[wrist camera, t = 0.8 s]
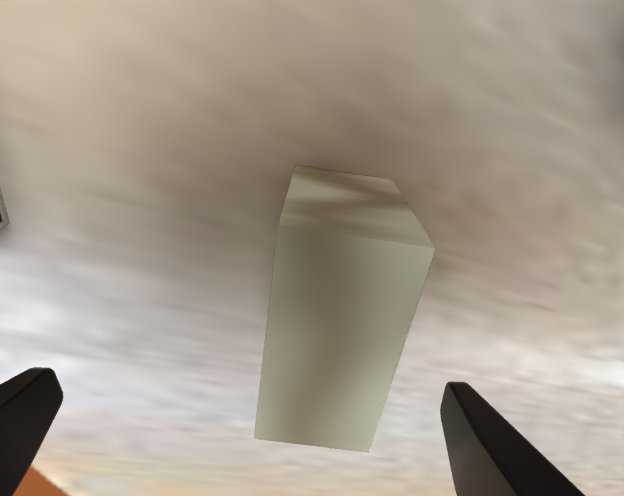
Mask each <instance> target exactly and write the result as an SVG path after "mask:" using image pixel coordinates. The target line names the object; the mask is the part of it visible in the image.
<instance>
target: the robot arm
mask: <svg viewBox="0 0 624 496" xmlns="http://www.w3.org/2000/svg"><path fill="white" fill-rule="evenodd" d="M62 401H63V391H62V389H61V386H60V384H59V381H58V379H57V377H56V374H55V372H54V370H52V369H51V368H40V367H34V368H30V369H28V370H26V371H24V372H22V373H21V374H19V375H17V376H15V377H13V378H11V379H10V380H8V381H6V382H4V383H2V384H0V496H13V494H14V493H15V491H16V489H17V488H18V486H19V484H20V483H21V481H22V479H23V478H24V476H25V474H26V473H27V471H28V469H29V467H30V465H31V463H32V462H33V460H34V458H35V456H36V454H37V452H38V450H39V448H40V446H41V444H42V442H43V440H44V438H45V436H46V434H47V432H48V430H49V428H50V426H51V424H52V422H53V420H54V418H55V416H56V414H57V412H58V410H59V408H60V406H61V404H62ZM440 414H441V421H442V426H443V431H444V436H445V441H446V446H447V451H448V456H449V461H450V466H451V471H452V476H453V481H454V485H455V490H456V494H457V496H585V495H584V494H583V493H582V492H581V491H580V490H579V489H578V488H577V487H576V486H575V485H574V484H573V483H572V482H571V481H569V480H568V479H567V478H566V477H565V476H564V475H563V474H562V473H561V472H560V471H559V470H558V469H557V468H556V467H555V466H554V465H553V464H552V463H551V462H550V461H549V460H547V459H546V458H545V457H544V456H543V455H542V454H541V453H540V452H539V451H538V450H537V449H536V448H535V447H534V446H533V445H532V444H531V443H530V442H529V441H528V440H527V439H525V438H524V437H523V436H522V435H521V434H520V433H519V432H518V431H517V430H516V429H515V428H514V427H513V426H512V425H511V424H510V423H509V422H508V421H507V420H506V419H505V418H503V417H502V416H501V415H500V414H499V413H498V412H497V411H496V410H495V409H494V408H493V407H492V406H491V405H490V404H489V403H488V402H487V401H486V400H485V399H484V398H482V397H481V396H480V395H479V394H478V393H477V392H476V391H475V390H474V389H473V388H472V387H471V386H470V385H469V384H467V383H465V382H448V383H447V384H446V387H445V391H444V395H443V399H442V403H441V409H440Z"/></svg>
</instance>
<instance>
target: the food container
mask: <svg viewBox="0 0 624 496" xmlns="http://www.w3.org/2000/svg"><path fill="white" fill-rule="evenodd" d="M8 223H9V220H8V216H7V212H6V208H5V205H4V201H3V197H2V194H1V190H0V229H1V228H2V227H4V226H5V225H7V224H8Z"/></svg>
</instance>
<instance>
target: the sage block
mask: <svg viewBox="0 0 624 496" xmlns="http://www.w3.org/2000/svg"><path fill="white" fill-rule="evenodd" d="M435 249H436V248H435V246H434V244H433V243H432V241H431V240H430V238H429V236H428V235H427V233H426V232H425V230H424V229H423V227H422V225H421V224H420V222H419V221H418V219H417V218H416V216H415V214H414V213H413V211H412V210H411V208H410V206H409V205H408V203H407V202H406V200H405V199H404V197H403V195H402V194H401V192H400V191H399V189H398V188H397V186H396V184H395V183H394V181H393V180H390V179H384V178H377V177H370V176H364V175H357V174H351V173H344V172H338V171H331V170H324V169H318V168H311V167H305V166H298V165H295V168H294V172H293V175H292V179H291V182H290V185H289V189H288V192H287V196H286V199H285V203H284V206H283V210H282V213H281V217H280V220H279V224H278V230H277V239H276V248H275V257H274V265H273V274H272V283H271V292H270V301H269V309H268V318H267V327H266V336H265V345H264V353H263V362H262V371H261V380H260V389H259V397H258V406H257V415H256V424H255V433H254V439H261V440H269V441H277V442H285V443H294V444H302V445H310V446H318V447H327V448H335V449H343V450H351V451H360V452H369V449H370V446H371V443H372V440H373V437H374V434H375V431H376V428H377V425H378V422H379V419H380V416H381V413H382V410H383V407H384V404H385V401H386V398H387V395H388V392H389V389H390V386H391V383H392V380H393V377H394V374H395V371H396V368H397V365H398V362H399V359H400V356H401V352H402V349H403V346H404V343H405V340H406V337H407V334H408V331H409V328H410V325H411V322H412V319H413V316H414V313H415V310H416V307H417V304H418V301H419V298H420V295H421V292H422V289H423V286H424V283H425V280H426V277H427V274H428V271H429V268H430V265H431V262H432V259H433V256H434V253H435Z"/></svg>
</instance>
